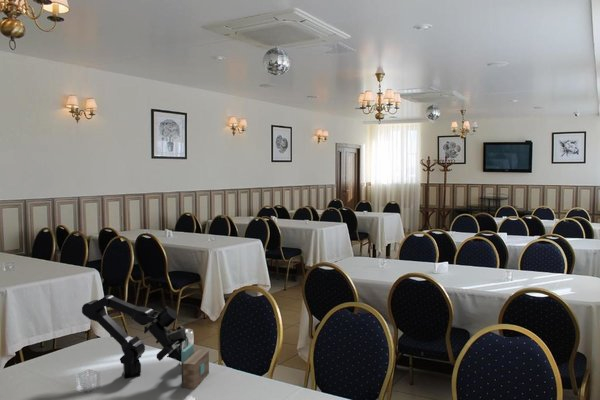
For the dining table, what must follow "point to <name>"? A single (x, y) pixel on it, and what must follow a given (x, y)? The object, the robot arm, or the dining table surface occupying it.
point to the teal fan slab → (187, 353)
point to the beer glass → (187, 339)
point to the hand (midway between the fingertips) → (185, 362)
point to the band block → (194, 368)
